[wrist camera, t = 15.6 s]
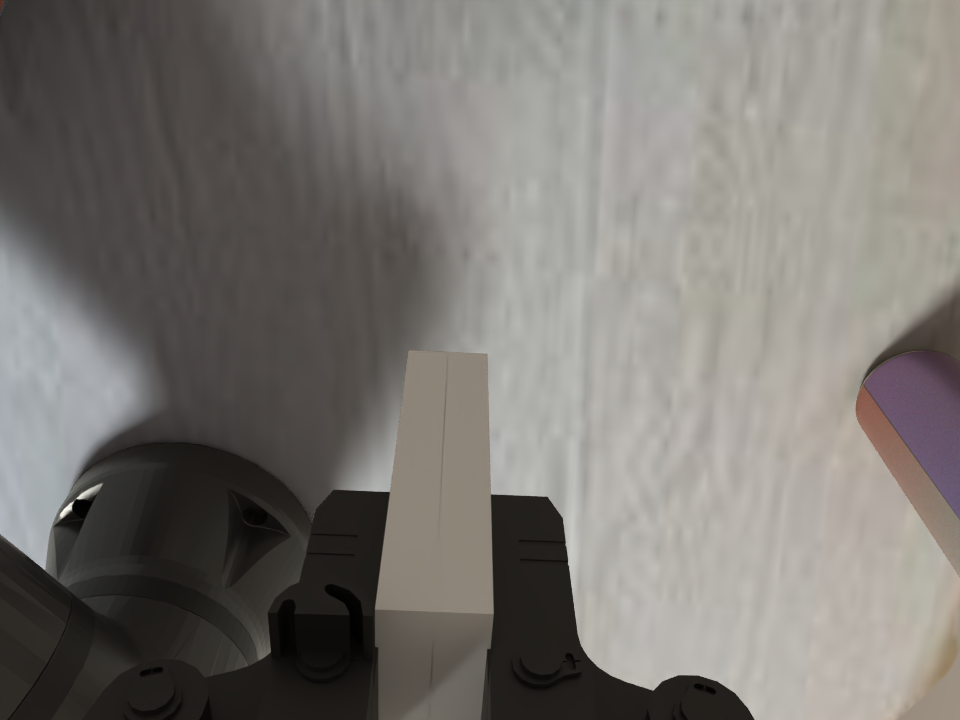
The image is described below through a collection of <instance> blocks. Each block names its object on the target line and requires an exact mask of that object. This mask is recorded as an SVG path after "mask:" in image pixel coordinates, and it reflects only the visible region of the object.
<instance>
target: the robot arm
mask: <svg viewBox="0 0 960 720" xmlns="http://www.w3.org/2000/svg"><path fill="white" fill-rule="evenodd" d="M565 543H566V541H565V533H564V525H563V518H562V517H561V515H560V514H559V512H558V511H557V510H556V508H555V507H554V505H553V504H552V503H551V501H550V500H549V498H548V497H538V496H514V495H491V483H490V442H489V400H488V359H487V354H479V353H458V352H437V351H416V350H408V358H407V366H406V373H405V381H404V389H403V396H402V404H401V412H400V420H399V427H398V435H397V443H396V450H395V458H394V466H393V474H392V481H391V489H390V492H372V491H348V490H333V491H332V492H331V493H330V495H329V496H328V497H327V498H326V499H325V500H324V501H323V503H322V504H321V505H320V506H319V507H318V508H317V509H316V512H315V516H314V520H313V525H311V522H310V520H309V518H308V516H307V514H306V512H305V511H304V509H303V507H302V506H301V505H300V503H299V502H298V501H297V499H296V498H295V497H294V496H293V495H292V493H291V492H290V491H289V490H288V489H287V488H286V487H285V486H283V485H282V484H281V483H280V482H279V481H278V480H276V479H275V478H274V477H273V476H271V475H270V474H268V473H267V472H265V471H264V470H262V469H261V468H259V467H257V466H256V465H254V464H252V463H250V462H248V461H246V460H244V459H242V458H239V457H237V456H235V455H232V454H229V453H227V452H223V451H220V450H217V449H213V448H209V447H204V446H199V445H192V444H182V443H157V444H148V445H142V446H137V447H133V448H129V449H126V450H123V451H120V452H117V453H115V454H112V455H110V456H108V457H106V458H104V459H103V460H101V461H99V462H98V463H96V464H95V465H93V466H92V467H91V468H89V469H88V470H87V471H86V472H85V473H84V474H83V475H82V476H81V477H80V478H79V479H78V481H77V482H76V483H75V485H74V486H73V488H72V490H71V491H70V493H69V494H68V496H67V498H66V499H65V501H64V503H63V504H62V506H61V508H60V509H59V511H58V513H57V515H56V517H55V519H54V522H53V525H52V528H51V531H50V536H49V543H48V552H47V561H46V569H45V570H44V569H42V568H41V567H40V566H39V565H38V564H36V563H35V562H34V561H33V560H31V559H30V558H29V557H28V556H27V555H25V554H24V553H23V552H22V551H20V550H19V549H18V548H17V547H15V546H14V545H13V544H12V543H11V542H9V541H8V540H7V539H6V538H4V537H3V536H2V535H1V534H0V720H754V718H753V716H752V715H751V713H750V711H749V710H748V708H747V707H746V706H745V705H744V703H743V702H742V701H741V700H740V699H739V697H738V696H737V695H736V694H735V693H734V692H732V691H731V690H729V689H728V688H726V687H725V686H723V685H722V684H720V683H719V682H717V681H714V680H710V679H707V678H704V677H701V676H688V675H678V676H676V677H673V678H670V679H668V680H665V681H662V682H661V683H660V684H659V686H658V687H657V688H656V689H655V690H654V691H652V690H649V689H646V688H643V687H640V686H636V685H633V684H630V683H627V682H624V681H622V680H620V679H617V678H615V677H612V676H610V675H609V674H607V673H606V672H604V671H603V670H601V669H600V668H598V667H597V666H596V665H595V664H594V663H593V662H592V661H591V660H590V659H589V658H588V657H587V655H586V653H585V652H584V650H583V648H582V647H581V644H580V641H579V637H578V634H577V626H576V618H575V611H574V603H573V595H572V587H571V580H570V572H569V566H568V556H567V548H566V546H565Z"/></svg>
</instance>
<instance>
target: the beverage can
mask: <svg viewBox="0 0 960 720" xmlns="http://www.w3.org/2000/svg"><path fill="white" fill-rule="evenodd" d="M856 416H857V420H858V422H859V424H860V426H861V428H862V429H863V431H864V432H865V434H866V435H867V437H868V438H869V440H870V441H871V443H872V444H873V446H874V447H875V449H876V450H877V452H878V453H879V455H880V457H881V458H882V460H883V461H884V463H885V464H886V466H887V467H888V469H889V470H890V472H891V473H892V475H893V476H894V478H895V479H896V481H897V482H898V484H899V486H900V487H901V489H902V490H903V492H904V493H905V495H906V496H907V498H908V499H909V501H910V502H911V504H912V505H913V507H914V508H915V510H916V511H917V513H918V515H919V516H920V518H921V519H922V521H923V522H924V524H925V525H926V527H927V528H928V530H929V531H930V533H931V534H932V536H933V537H934V539H935V540H936V542H937V543H938V545H939V547H940V548H941V550H942V551H943V553H944V554H945V556H946V557H947V559H948V560H949V562H950V563H951V565H952V566H953V568H954V569H955V571H956V572H957V574H958V576H959V577H960V363H959V362H958V361H957V360H956V359H954V358H952V357H951V356H949V355H946V354H943V353H940V352H934V351H911V352H905V353H902V354H898V355H896V356H893V357H891V358H889V359H887V360H885V361H884V362H882V363H881V364H880V365H878V366H877V367H876V368H875V369H874V370H872V372H871V373H870V374H869V375H868V376H867V377H866V379H865V380H864V382H863V384H862V386H861V388H860V390H859V393H858V397H857V401H856Z"/></svg>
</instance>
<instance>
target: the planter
mask: <svg viewBox="0 0 960 720" xmlns="http://www.w3.org/2000/svg"><path fill="white" fill-rule="evenodd" d="M7 1H8V0H0V18H1V16H2V13H3V11H4V9H5V6H6V3H7Z"/></svg>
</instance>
